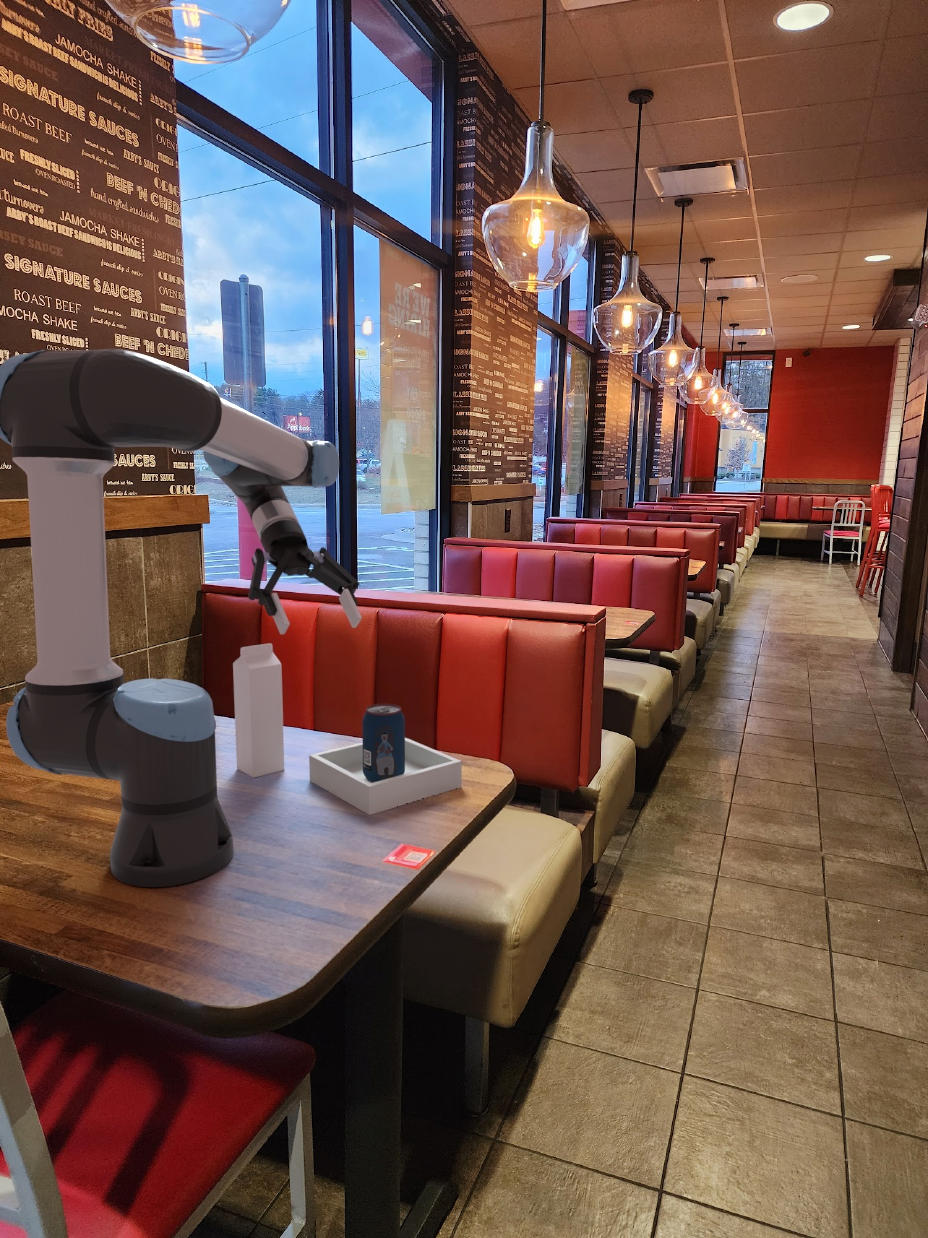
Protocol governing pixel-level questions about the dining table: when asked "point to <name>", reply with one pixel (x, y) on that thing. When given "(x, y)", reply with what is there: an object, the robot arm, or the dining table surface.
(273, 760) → the milk
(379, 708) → the soda can
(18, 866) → the dining table surface
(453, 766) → the box
